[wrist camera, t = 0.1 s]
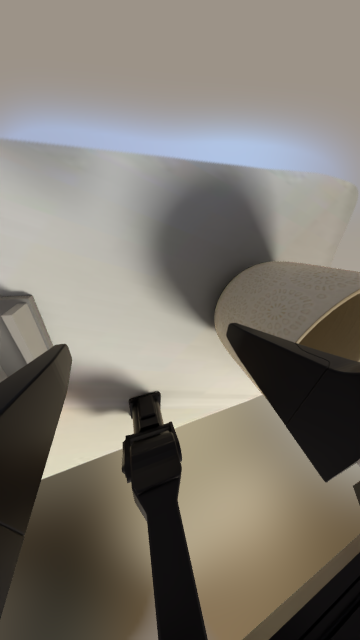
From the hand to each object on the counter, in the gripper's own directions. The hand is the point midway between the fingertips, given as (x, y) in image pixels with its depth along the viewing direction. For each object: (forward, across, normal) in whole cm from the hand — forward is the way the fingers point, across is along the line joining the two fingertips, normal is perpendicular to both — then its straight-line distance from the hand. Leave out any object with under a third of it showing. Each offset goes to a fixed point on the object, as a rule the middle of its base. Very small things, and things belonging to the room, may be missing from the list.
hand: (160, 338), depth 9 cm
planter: (+15, -19, +5) cm, 25 cm away
